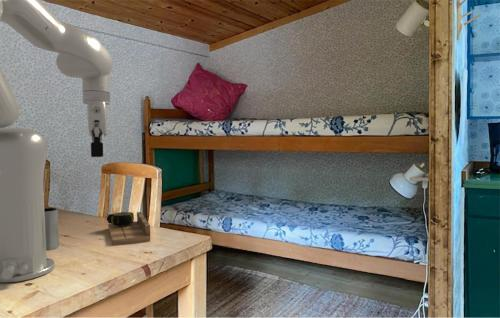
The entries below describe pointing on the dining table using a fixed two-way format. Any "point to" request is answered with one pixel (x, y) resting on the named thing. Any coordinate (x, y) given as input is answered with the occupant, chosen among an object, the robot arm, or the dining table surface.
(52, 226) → the planter
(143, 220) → the brown wooden tray
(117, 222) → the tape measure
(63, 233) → the dining table surface
